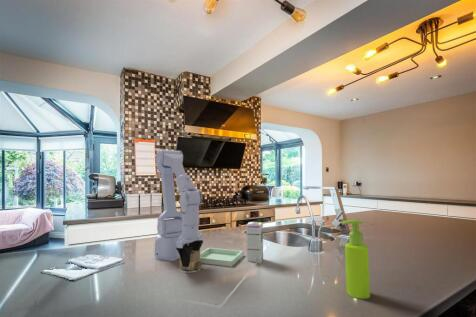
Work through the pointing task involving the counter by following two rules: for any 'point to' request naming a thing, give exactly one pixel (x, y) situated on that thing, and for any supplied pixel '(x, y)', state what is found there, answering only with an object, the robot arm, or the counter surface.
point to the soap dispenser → (356, 263)
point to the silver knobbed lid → (188, 270)
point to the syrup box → (254, 242)
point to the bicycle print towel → (87, 266)
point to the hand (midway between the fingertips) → (189, 263)
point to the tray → (220, 256)
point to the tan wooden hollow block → (192, 261)
